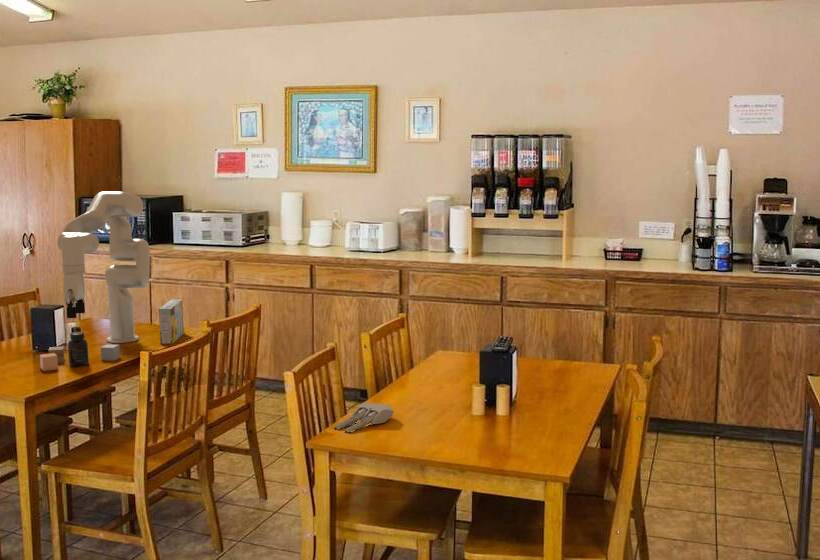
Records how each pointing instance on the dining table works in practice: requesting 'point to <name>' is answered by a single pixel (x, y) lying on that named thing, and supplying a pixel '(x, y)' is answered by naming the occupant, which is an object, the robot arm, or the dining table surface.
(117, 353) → the slate block
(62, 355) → the walnut block
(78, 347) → the supplement bottle
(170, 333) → the snack box
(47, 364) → the terracotta block
